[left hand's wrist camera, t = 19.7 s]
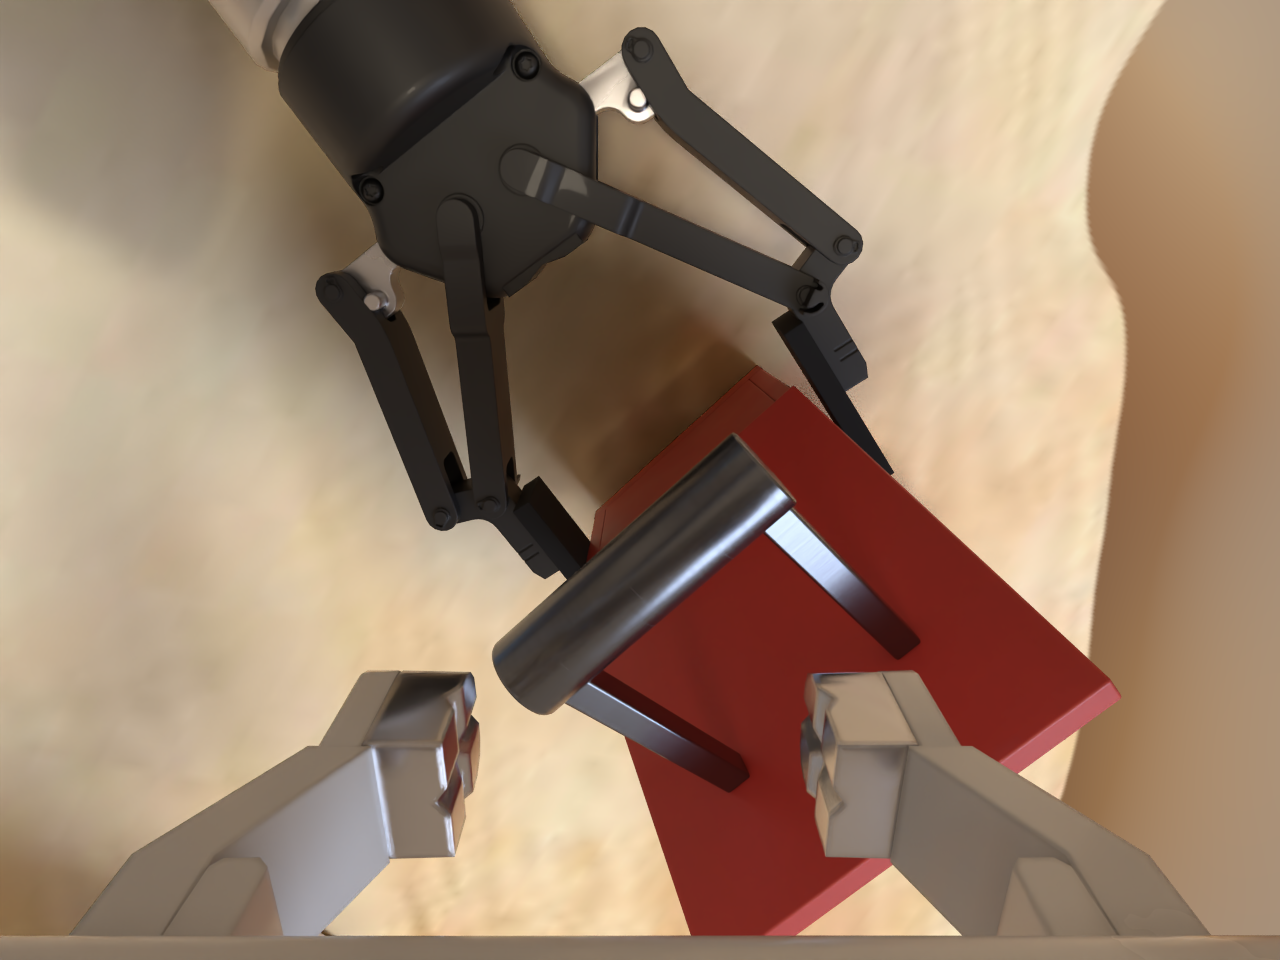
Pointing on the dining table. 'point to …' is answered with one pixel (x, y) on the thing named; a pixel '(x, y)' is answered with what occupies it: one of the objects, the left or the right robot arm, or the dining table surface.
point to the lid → (783, 655)
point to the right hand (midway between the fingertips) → (743, 543)
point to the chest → (686, 453)
